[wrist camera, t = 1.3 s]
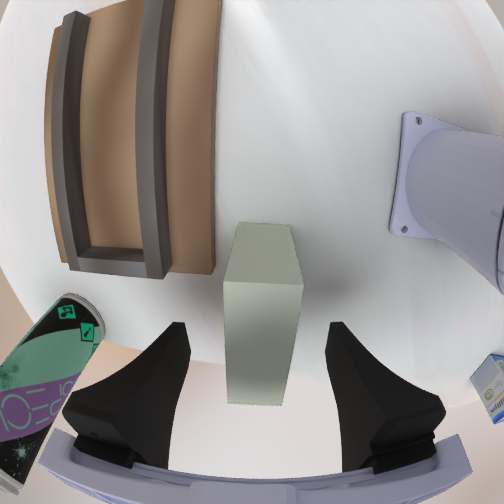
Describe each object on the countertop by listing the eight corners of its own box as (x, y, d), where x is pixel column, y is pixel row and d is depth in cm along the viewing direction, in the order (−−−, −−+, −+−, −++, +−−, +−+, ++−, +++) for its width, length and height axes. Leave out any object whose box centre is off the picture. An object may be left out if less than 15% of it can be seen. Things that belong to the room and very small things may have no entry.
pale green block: (289, 224, 16) (304, 285, 10) (278, 328, 20) (281, 405, 13) (239, 222, 16) (223, 281, 10) (237, 326, 20) (227, 403, 13)
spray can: (94, 349, 22) (11, 513, 4) (53, 313, 21) (-50, 463, 3) (114, 323, 20) (10, 526, 2) (67, 281, 19) (-67, 460, 1)
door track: (222, -8, 10) (214, -31, 7) (215, 265, 18) (206, 290, 15) (64, 31, 11) (39, 24, 8) (69, 255, 18) (48, 273, 15)
